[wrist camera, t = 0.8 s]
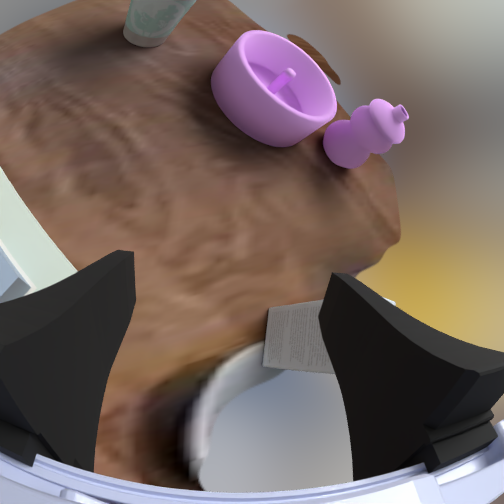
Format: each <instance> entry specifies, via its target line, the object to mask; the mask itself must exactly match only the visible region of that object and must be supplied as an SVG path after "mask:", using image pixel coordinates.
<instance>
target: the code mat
mask: <svg viewBox="0 0 504 504" xmlns="http://www.w3.org/2000/svg"><path fill="white" fill-rule="evenodd" d="M0 246H1V248H2V249H3V251H4V252H5V254H6V255H7V256H8V258H9V259H10V261H11V262H12V263H13V265H14V266H15V267H16V269H17V270H18V271H19V273H20V274H21V275H22V277H23V278H24V279H25V280H26V282H27V283H28V284H29V285H30V287H31V288H30V289H29V291H28V292H27V293H26V294H25V295H28V294H31V293H34V292H37V291H39V290H41V289H44V288H46V287H49V286H51V285H53V284H55V283H57V282H59V281H61V280H63V279H65V278H67V277H69V276H71V275H73V274H75V273H76V272H78V271H77V270H76V269H75V268H74V267H73V265H72V264H71V263H70V262H69V261H68V260H67V258H66V257H65V256H64V255H63V253H62V252H61V251H60V250H59V249H58V247H57V246H56V245H55V244H54V242H53V241H52V240H51V239H50V237H49V236H48V235H47V233H46V232H45V231H44V230H43V228H42V227H41V226H40V224H39V223H38V222H37V220H36V219H35V218H34V216H33V215H32V213H31V212H30V211H29V209H28V208H27V206H26V205H25V204H24V202H23V201H22V199H21V198H20V196H19V195H18V193H17V192H16V190H15V189H14V187H13V186H12V184H11V183H10V181H9V180H8V178H7V177H6V175H5V173H4V172H3V170H2V169H1V167H0ZM25 295H24V296H25Z"/></svg>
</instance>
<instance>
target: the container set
mask: <svg viewBox="0 0 504 504" xmlns="http://www.w3.org/2000/svg"><path fill="white" fill-rule="evenodd" d="M211 89H212V92H213V95H214V98H215V100H216V102H217V104H218V106H219V107H220V109H221V110H222V111H223V113H224V114H225V116H226V117H227V118H228V119H229V120H230V121H231V122H232V123H233V124H234V125H235V126H236V127H238V128H239V129H240V130H241V131H242V132H244V133H245V134H247V135H248V136H250V137H252V138H253V139H255V140H257V141H259V142H262V143H264V144H267V145H270V146H274V147H289V146H293V145H295V144H296V143H298V142H300V141H301V140H303V139H304V138H305V137H307V136H308V135H310V134H311V133H313V132H314V131H316V130H317V129H318V128H320V127H321V126H323V125H324V124H326V123H327V122H329V121H330V120H331V119H332V118H333V117H334V116H335V113H336V111H337V102H336V97H335V94H334V91H333V88H332V86H331V84H330V83H329V80H328V79H327V77H326V76H325V74H324V73H323V71H322V70H321V69H320V67H319V66H318V65H317V64H316V63H315V62H314V61H313V60H312V58H311V57H310V56H308V55H307V54H306V53H305V52H304V51H303V50H302V49H300V48H299V47H297V46H296V45H295V44H293V43H292V42H290V41H288V40H287V39H285V38H283V37H281V36H278V35H276V34H273V33H270V32H266V31H261V30H252V31H248V32H245V33H244V34H242V35H241V36H240V37H239V39H238V40H237V41H236V42H235V43H234V45H233V46H232V47H231V48H230V50H229V51H228V52H227V53H226V55H225V56H224V57H223V58H222V60H221V61H220V62H219V64H218V65H217V66H216V68H215V69H214V71H213V72H212V76H211ZM407 119H409V116H408V113H407V112H406V110H405V109H404V107H403V106H402V105H398V106H397V107H395V108H394V107H393V106H392V105H391V104H389V103H388V102H386V101H384V100H382V99H374V100H373V101H372V102H371V103H370V105H369V106H360V107H358V108H356V109H355V111H354V112H353V113H352V116H351V119H350V120H338V121H336V122H333V123H332V124H330V125H329V126H328V128H327V129H326V131H325V134H324V140H323V147H324V150H325V152H326V154H327V156H328V157H329V159H330V160H331V161H332V162H333V163H335V164H336V165H338V166H341V167H344V168H351V169H352V168H357V167H359V166H361V165H362V164H363V163H364V162H365V161H366V160H367V159H368V156H369V154H370V152H371V153H375V154H381V153H385V152H386V151H388V150H389V149H390V148H391V146H392V143H393V144H397V143H401V141H402V140H403V139H404V135H405V129H404V124H403V121H405V120H407Z"/></svg>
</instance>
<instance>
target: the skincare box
mask: <svg viewBox="0 0 504 504" xmlns="http://www.w3.org/2000/svg"><path fill="white" fill-rule="evenodd" d="M383 298H384V297H383ZM384 299H386V298H384ZM386 300H387V301H389V302H390V303H392V304H393V305H395V302H394V301H391V300H389V299H386ZM322 303H323V300H319V301H312V302H306V303H299V304H292V305H285V306H278V307H272V308H269V313H268V322H267V331H266V339H265V348H264V356H263V364H262V366H264V367H269V368H278V369H286V370H295V371H306V372H316V373H317V372H318V373H330V374H335V372H334V369H333V366H332V364H331V361H330V358H329V355H328V353H327V350H326V347H325V344H324V342H323V339H322V334H321V330H320V325H319V319H318V315H319V312H320V309H321V306H322Z"/></svg>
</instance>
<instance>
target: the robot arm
mask: <svg viewBox="0 0 504 504" xmlns="http://www.w3.org/2000/svg"><path fill="white" fill-rule="evenodd" d="M135 302H136V291H135V271H134V252H131V251H123V250H117V251H114V252H112V253H110V254H108V255H107V256H105V257H103V258H101V259H100V260H98V261H96V262H94V263H92V264H91V265H89V266H87V267H86V268H84V269H82V270H80V271H78V272H76V273H75V274H73V275H71V276H69V277H67V278H65V279H63V280H61V281H59V282H57V283H55V284H53V285H51V286H49V287H46V288H44V289H41V290H39V291H37V292H34V293H31V294H28V295H25V296H22V297H19V298H16V299H13V300H10V301H6V302H3V303H0V504H489V503H491V502H492V501H494V500H495V499H496V498H498V497H499V496H500V495H501V494H503V493H504V419H503V420H501V421H500V422H498V423H497V424H496V425H494V426H492V424H491V423H490V420H492V419H493V417H494V414H493V413H492V411H491V408H492V407H493V405H494V404H495V403H496V402H497V401H498V400H499V398H500V397H501V396H502V395H503V394H504V352H500V351H495V350H491V349H487V348H483V347H479V346H476V345H473V344H470V343H467V342H464V341H462V340H459V339H456V338H454V337H451V336H449V335H447V334H445V333H442V332H440V331H438V330H436V329H434V328H432V327H430V326H428V325H426V324H424V323H422V322H420V321H419V320H417V319H415V318H413V317H412V316H410V315H408V314H407V313H405V312H404V311H402V310H400V309H399V308H398V307H396V306H395V305H393V304H392V303H390V302H389V301H387V300H386V299H384V298H383V297H382V296H380V295H378V294H377V293H376V292H374V291H373V290H371V289H370V288H368V287H367V286H366V285H364V284H363V283H362V282H360V281H358V280H357V279H355V278H354V277H352V276H350V275H348V274H343V273H332V275H331V278H330V281H329V284H328V287H327V291H326V294H325V297H324V300H323V303H322V306H321V309H320V312H319V315H318V319H319V325H320V330H321V334H322V339H323V342H324V344H325V347H326V350H327V353H328V355H329V358H330V361H331V364H332V366H333V369H334V372H335V375H336V377H337V380H338V383H339V385H340V389H341V393H342V397H343V401H344V406H345V411H346V415H347V422H348V428H349V434H350V442H351V451H352V461H353V462H352V463H353V482H348V483H342V484H337V485H331V486H324V487H317V488H309V489H301V490H289V491H276V492H252V493H251V492H249V493H248V492H247V493H235V492H234V493H232V492H231V493H230V492H207V491H193V490H182V489H173V488H166V487H158V486H152V485H146V484H140V483H135V482H130V481H125V480H120V479H116V478H112V477H107V476H103V475H100V474H96V473H94V457H95V446H96V438H97V430H98V423H99V417H100V412H101V407H102V401H103V397H104V392H105V388H106V384H107V380H108V376H109V373H110V370H111V367H112V365H113V362H114V360H115V357H116V355H117V352H118V350H119V347H120V345H121V343H122V340H123V338H124V335H125V333H126V331H127V328H128V326H129V323H130V320H131V317H132V313H133V309H134V306H135Z"/></svg>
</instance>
